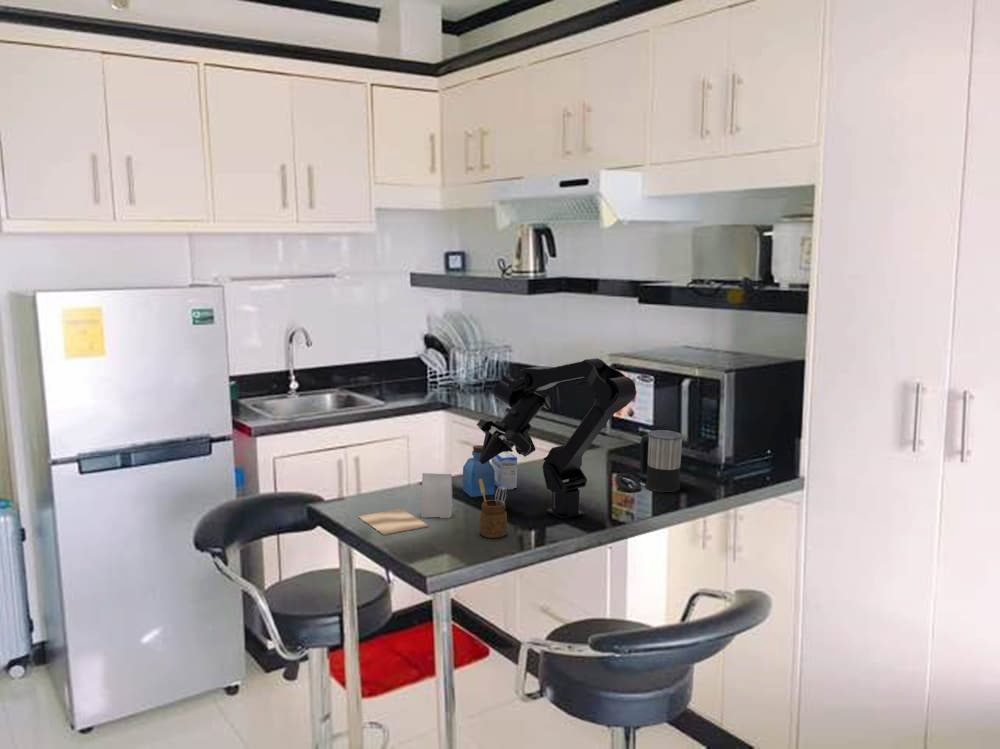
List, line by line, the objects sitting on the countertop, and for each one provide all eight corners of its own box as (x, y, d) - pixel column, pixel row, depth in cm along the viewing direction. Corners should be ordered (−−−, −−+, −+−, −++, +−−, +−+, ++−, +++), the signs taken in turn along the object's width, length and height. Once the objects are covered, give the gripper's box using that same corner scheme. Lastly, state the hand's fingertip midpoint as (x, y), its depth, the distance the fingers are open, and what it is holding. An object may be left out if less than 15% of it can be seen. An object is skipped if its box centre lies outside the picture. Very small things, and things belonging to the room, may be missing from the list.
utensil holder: (501, 540, 175) (501, 486, 174) (474, 536, 178) (474, 482, 176) (510, 531, 181) (511, 479, 179) (484, 527, 183) (485, 475, 181)
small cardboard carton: (450, 518, 189) (450, 476, 188) (421, 517, 190) (421, 475, 188) (452, 513, 193) (452, 472, 191) (423, 512, 193) (423, 471, 192)
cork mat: (428, 527, 183) (428, 525, 183) (383, 535, 177) (383, 534, 177) (401, 509, 194) (401, 508, 194) (358, 517, 189) (358, 516, 189)
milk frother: (687, 489, 216) (690, 434, 214) (652, 500, 206) (655, 443, 203) (643, 477, 226) (645, 425, 224) (607, 488, 216) (609, 433, 213)
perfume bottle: (471, 496, 206) (472, 450, 204) (462, 490, 212) (463, 445, 210) (494, 494, 208) (495, 448, 207) (484, 487, 214) (485, 443, 212)
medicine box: (490, 482, 219) (491, 450, 218) (506, 480, 221) (506, 449, 220) (501, 490, 212) (501, 457, 211) (517, 489, 214) (517, 456, 212)
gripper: (561, 442, 194) (520, 493, 191) (523, 427, 211) (485, 473, 207) (533, 412, 190) (490, 464, 186) (496, 399, 206) (456, 446, 203)
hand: (480, 462), depth 196 cm, fingers closed
